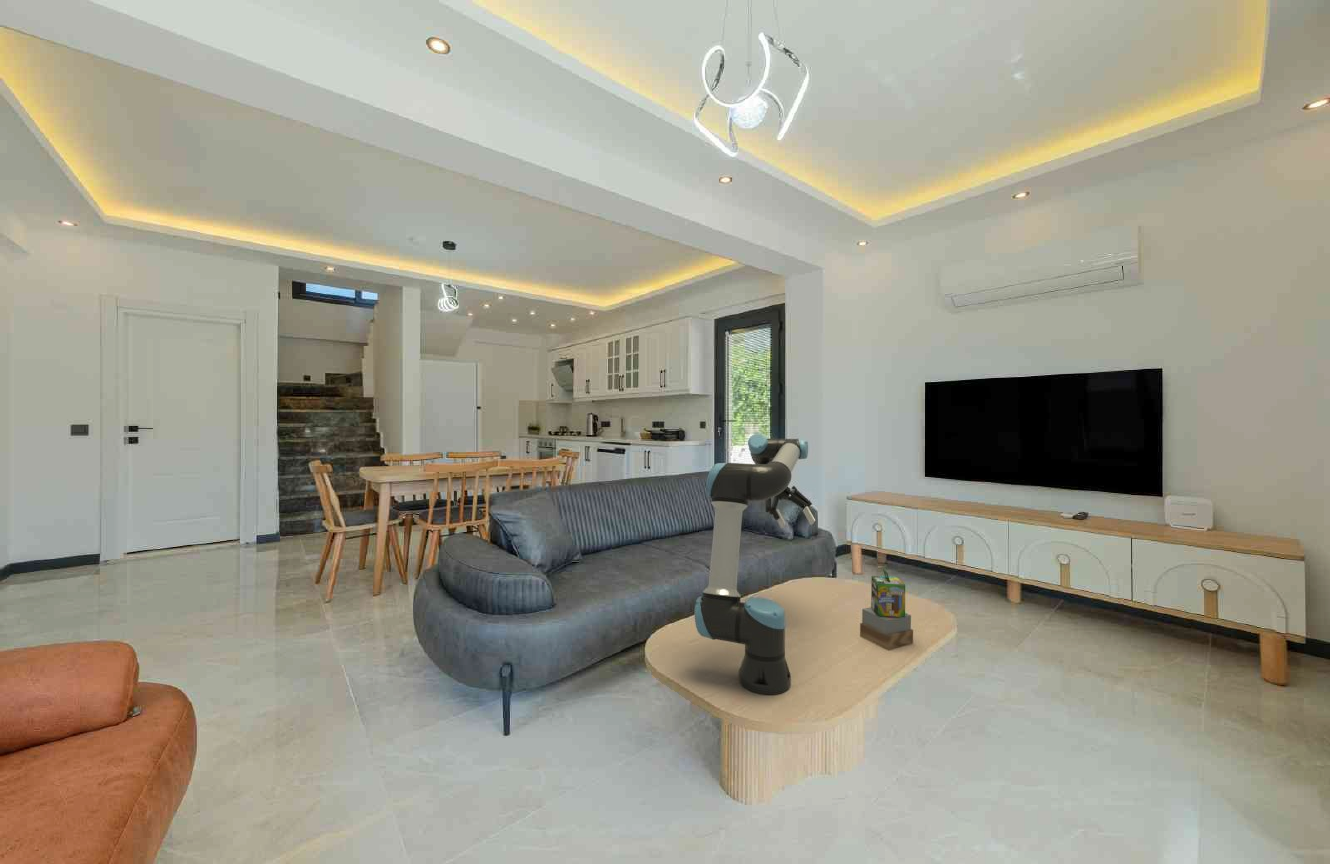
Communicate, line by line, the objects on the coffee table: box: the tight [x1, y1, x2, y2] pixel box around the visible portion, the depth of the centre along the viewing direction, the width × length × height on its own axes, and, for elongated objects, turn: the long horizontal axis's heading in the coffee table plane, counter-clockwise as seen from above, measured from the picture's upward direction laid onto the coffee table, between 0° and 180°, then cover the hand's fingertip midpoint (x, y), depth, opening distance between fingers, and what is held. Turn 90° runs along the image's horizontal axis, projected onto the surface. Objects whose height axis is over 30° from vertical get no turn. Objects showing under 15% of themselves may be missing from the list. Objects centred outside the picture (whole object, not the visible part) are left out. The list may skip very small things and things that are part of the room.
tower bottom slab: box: [859, 622, 914, 651], centre depth 181 cm, size 12×12×5 cm
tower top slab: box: [861, 606, 912, 635], centre depth 181 cm, size 11×11×5 cm
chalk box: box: [870, 568, 906, 617], centre depth 180 cm, size 9×9×15 cm
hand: (798, 524), depth 192 cm, fingers open, 13 cm apart
